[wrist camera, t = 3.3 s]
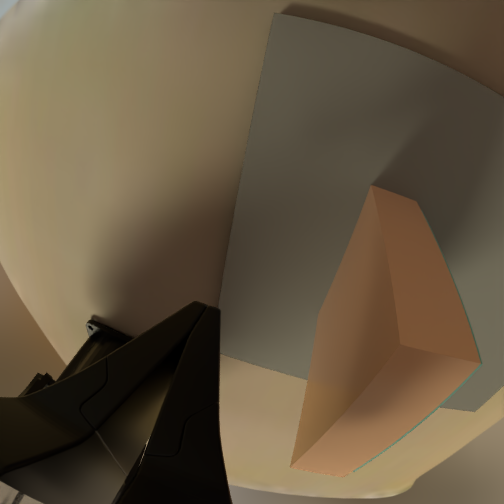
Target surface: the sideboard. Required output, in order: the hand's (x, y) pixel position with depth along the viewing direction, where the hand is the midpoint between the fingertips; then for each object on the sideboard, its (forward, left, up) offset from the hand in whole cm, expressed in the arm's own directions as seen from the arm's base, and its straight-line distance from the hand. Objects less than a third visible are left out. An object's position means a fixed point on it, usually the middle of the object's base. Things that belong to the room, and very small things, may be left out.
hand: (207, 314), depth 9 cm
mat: (+9, 0, -6) cm, 11 cm away
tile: (+5, 0, -5) cm, 7 cm away
